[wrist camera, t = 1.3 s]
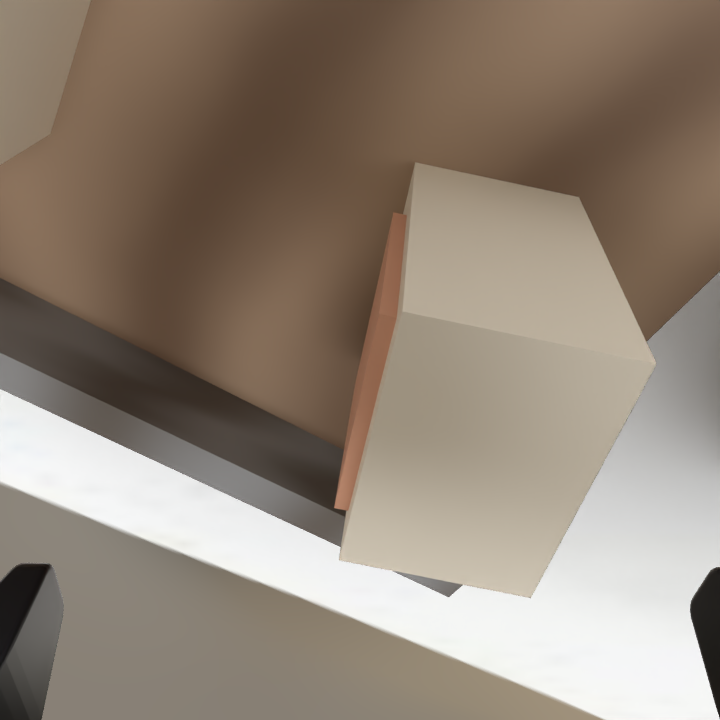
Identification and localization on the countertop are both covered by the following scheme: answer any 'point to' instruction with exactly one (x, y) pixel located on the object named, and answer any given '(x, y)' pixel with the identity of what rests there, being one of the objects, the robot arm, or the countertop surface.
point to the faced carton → (34, 66)
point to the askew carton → (485, 384)
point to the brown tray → (322, 204)
